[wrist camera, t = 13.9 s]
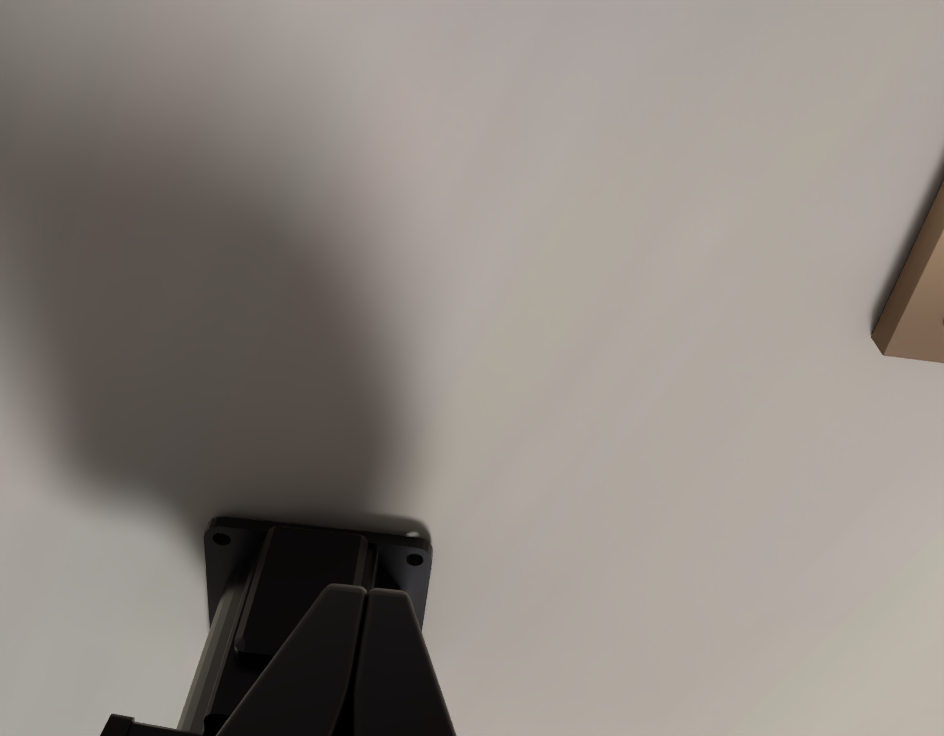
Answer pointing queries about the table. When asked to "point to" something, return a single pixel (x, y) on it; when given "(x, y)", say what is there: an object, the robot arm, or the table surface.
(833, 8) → the table surface
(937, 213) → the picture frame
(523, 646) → the table surface
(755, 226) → the table surface
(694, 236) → the table surface
